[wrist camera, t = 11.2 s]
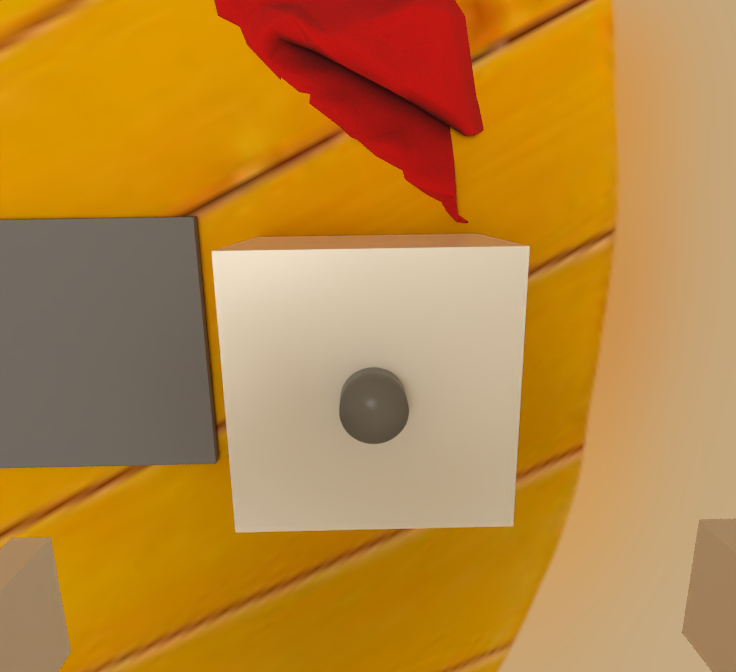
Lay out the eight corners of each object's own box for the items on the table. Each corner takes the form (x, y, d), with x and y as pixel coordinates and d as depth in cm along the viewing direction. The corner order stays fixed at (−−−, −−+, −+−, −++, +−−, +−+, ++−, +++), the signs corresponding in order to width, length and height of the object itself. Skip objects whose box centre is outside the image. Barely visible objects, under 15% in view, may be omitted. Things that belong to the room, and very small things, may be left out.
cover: (469, 436, 31) (523, 546, 21) (270, 440, 31) (227, 553, 21) (477, 233, 28) (542, 249, 18) (257, 236, 28) (200, 254, 18)
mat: (218, 458, 31) (215, 463, 31) (-3, 463, 31) (-10, 468, 31) (196, 216, 28) (192, 217, 27) (-52, 220, 28) (-61, 220, 27)
